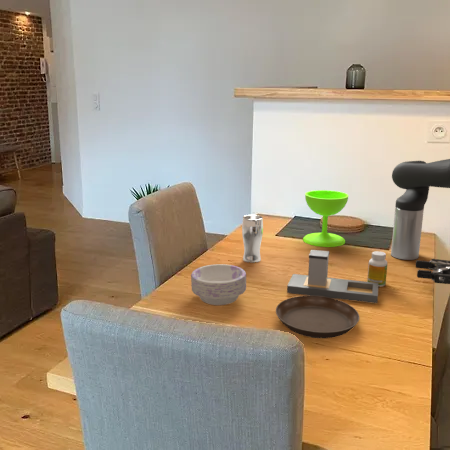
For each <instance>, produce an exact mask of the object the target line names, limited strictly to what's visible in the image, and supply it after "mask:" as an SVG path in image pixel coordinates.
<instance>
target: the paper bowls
mask: <svg viewBox="0 0 450 450" xmlns="http://www.w3.org/2000/svg"><path fill="white" fill-rule="evenodd" d="M190 279H191V280H190V282H191V283H190V286H191V291H192V293H193V294H194V295H195V296H197V297H199V299H200V300H201V301H202V302H203V303H205V304H208V305H211V306H212V305H213V306H225V305H226V306H227V305H230V304H232V303H234V302H235V301H237V299H238V298H239V297H240V296H241V295H242V294H244V293H245V292H246V290H247V273H246V271H245V270H244V269H243V268H242V267H240V266H236V265H233V264H226V263H225V264H224V263H223V264H222V263H221V264H217V263H215V264H208V265H204V266H200V267H197V268H195V269H194V270H193V271H192V272H191V275H190Z"/></svg>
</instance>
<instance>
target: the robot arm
mask: <svg viewBox="0 0 450 450" xmlns="http://www.w3.org/2000/svg"><path fill="white" fill-rule="evenodd" d="M391 179H392V181H393V183H394V185H395V186H397V188H399V189H403V190H405V191H404V193H403V194H401V196H399V197H397V198H396V201H395V207H394V218H393V226H392V227H393V228H392V229H393V230H392V238H391V239H392V240H391V251H390V256H392V257H394V258H396V259H399V260H404V261H405V260H408V261H413V260H416V261H415V268H417V269H418V270H417V271H416V272H417V273H416V277H417V278H418V279H427V280H428V279H429V280H431V281H433V282H434V283H435V284H444V285H450V260H446V259H437V258H431V260H417V259H419V255H420V247H421V238H422V231H423V230H422V229H423V220H424V213H425V212H424V209H425V204H426V203H427V201H428V198H429V191H430V188H431V187H433V188H443V189H444V188H445V189H450V158H446V159H441V160H437V161H432V162H426V161H424V160H411V161H410V160H409V161H408V160H407V161H403V162H399V163H398V164H397V165H396V166H395V167H394V168H393V170H392V174H391Z"/></svg>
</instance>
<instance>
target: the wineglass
mask: <svg viewBox="0 0 450 450" xmlns="http://www.w3.org/2000/svg"><path fill="white" fill-rule="evenodd" d="M304 195H305V202H306V205H307V206H308V207H309V209H310V210H311V211H313V212H314V213H315V214H317V215H319V216H321V217H322V222H321V223H322V224H321V226H322V227H321V232H313V233H308V234H306V235H305V236H303V238H302V241H303V242H304V243H305V244H307V245H311V246H313V247H314V246H315V247H320V248H335V247H341V246H343V245H345V244H346V240H345V238H344V237H342V236H340V235H338V234H335V233H330V232H328V222H329V220H328V219H329V217H330V216H335V215H336V214H339V212H341V211H342V210H343V209H344V208H345V207H346V205H347V203H348V200H349V194H348V193H346V192H344V191H343V192H342V191H337V190H327V189H326V190H325V189H322V190H319V189H317V190H316V189H315V190H310V191H307V192H305V193H304Z"/></svg>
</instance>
